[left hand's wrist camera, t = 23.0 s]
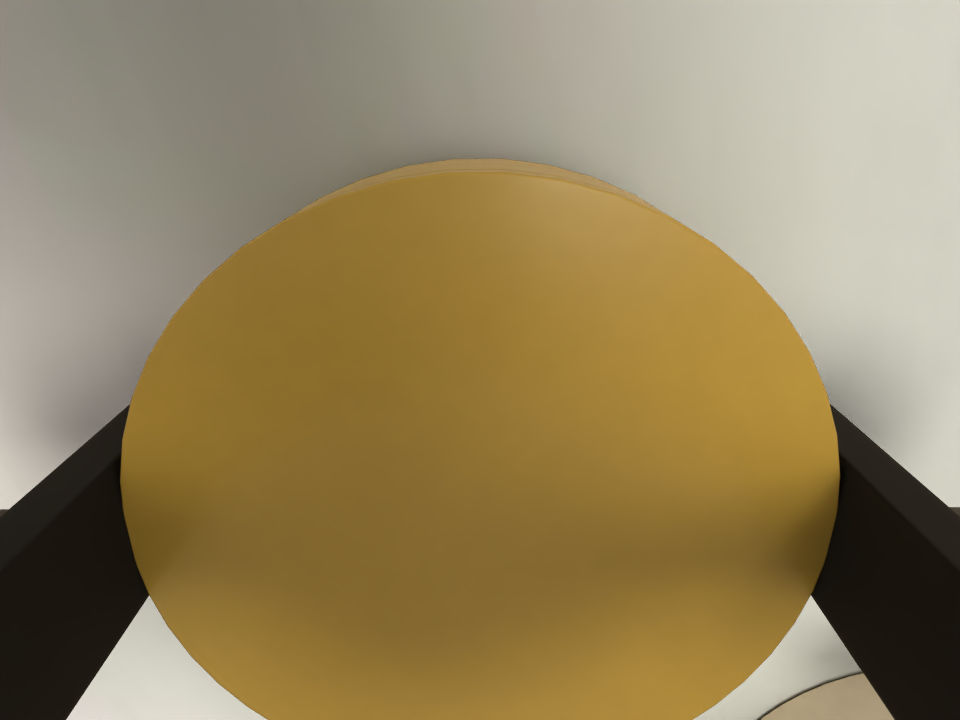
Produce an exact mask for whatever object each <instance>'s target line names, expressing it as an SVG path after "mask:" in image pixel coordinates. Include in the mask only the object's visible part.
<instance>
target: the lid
mask: <svg viewBox="0 0 960 720" xmlns="http://www.w3.org/2000/svg"><path fill="white" fill-rule="evenodd" d="M120 486H121V496H122V506H123V511H124V516H125V521H126V525H127V529H128V533H129V537H130V541H131V545H132V549H133V553H134V557H135V561H136V564H137V567H138V570H139V572H140V575H141V577H142V579H143V582H144V584H145V586H146V589H147V591H148V594H149V595H150V597H151V599H152V600H153V602H154V604H155V605H156V607H157V609H158V611H159V612H160V614H161V616H162V617H163V619H164V621H165V622H166V624H167V626H168V627H169V629H170V630H171V631H172V632H173V634H174V635H175V636H176V637H177V639H178V640H179V641H180V643H181V644H182V645H183V646H184V648H185V649H186V650H187V652H188V653H189V654H190V655H191V657H192V658H193V659H194V660H195V661H196V662H197V663H198V664H199V665H200V666H201V667H202V668H203V669H204V670H205V671H206V672H207V673H208V674H209V675H210V676H211V677H212V678H213V679H214V680H215V681H216V682H217V683H218V684H220V685H221V686H222V687H223V688H225V689H226V690H227V691H228V692H230V693H231V694H232V695H233V696H235V697H236V698H237V699H238V700H240V701H241V702H242V703H244V704H245V705H246V706H247V707H249V708H250V709H252V710H253V711H255V712H257V713H258V714H260V715H261V716H263V717H264V718H266V719H268V720H693V719H694V718H696V717H697V716H699V715H700V714H702V713H704V712H705V711H707V710H708V709H710V708H711V707H713V706H714V705H716V704H717V703H718V702H719V701H721V700H722V699H723V698H724V697H726V696H727V695H728V694H729V693H731V692H732V691H733V690H734V689H735V688H737V687H738V686H739V685H740V684H742V683H743V682H744V681H745V680H746V679H747V678H748V677H749V676H750V675H751V674H752V673H753V672H754V671H755V670H756V669H757V668H758V667H759V666H760V665H761V664H762V663H763V662H764V661H765V660H766V659H767V658H768V657H769V656H770V655H771V653H772V652H773V651H774V650H775V648H776V647H777V646H778V644H779V643H780V642H781V640H782V639H783V638H784V636H785V635H786V634H787V632H788V631H789V630H790V629H791V627H792V626H793V625H794V623H795V621H796V620H797V618H798V616H799V614H800V613H801V611H802V609H803V608H804V606H805V604H806V602H807V601H808V599H809V597H810V595H811V594H812V592H813V590H814V588H815V585H816V583H817V580H818V578H819V575H820V573H821V570H822V568H823V565H824V562H825V559H826V555H827V551H828V547H829V543H830V539H831V535H832V531H833V527H834V523H835V519H836V514H837V509H838V498H839V486H840V466H839V453H838V440H837V432H836V428H835V424H834V420H833V416H832V412H831V408H830V404H829V399H828V395H827V392H826V390H825V387H824V385H823V383H822V380H821V378H820V375H819V373H818V371H817V368H816V366H815V364H814V361H813V359H812V357H811V354H810V352H809V350H808V349H807V347H806V346H805V344H804V342H803V341H802V339H801V338H800V336H799V334H798V333H797V331H796V330H795V328H794V327H793V325H792V323H791V322H790V320H789V319H788V317H787V315H786V314H785V312H784V311H783V310H782V309H781V308H780V307H779V306H778V304H777V303H776V302H775V301H774V300H773V299H772V298H771V296H770V295H769V294H768V293H767V292H766V291H765V290H764V288H763V287H762V286H761V285H760V284H759V283H758V282H757V280H756V279H755V278H754V277H753V276H752V275H751V274H749V273H748V272H747V271H746V270H745V269H744V268H742V267H741V266H740V265H739V264H738V263H736V262H735V261H734V260H733V259H732V258H730V257H729V256H728V255H727V254H726V253H724V252H723V251H722V250H721V249H720V248H718V247H717V246H716V245H715V244H714V243H712V242H710V241H709V240H707V239H706V238H704V237H702V236H701V235H699V234H697V233H696V232H694V231H693V230H691V229H689V228H688V227H686V226H684V225H683V224H681V223H680V222H678V221H676V220H675V219H673V218H672V217H670V216H668V215H667V214H665V213H663V212H662V211H660V210H658V209H657V208H655V207H654V206H652V205H650V204H649V203H647V202H645V201H644V200H642V199H640V198H639V197H637V196H636V195H633V194H631V193H629V192H627V191H624V190H622V189H620V188H617V187H615V186H613V185H610V184H608V183H606V182H603V181H601V180H599V179H596V178H594V177H591V176H587V175H584V174H580V173H576V172H573V171H569V170H565V169H562V168H558V167H554V166H551V165H546V164H538V163H531V162H523V161H515V160H508V159H450V160H444V161H437V162H430V163H423V164H416V165H409V166H405V167H401V168H398V169H394V170H391V171H387V172H384V173H381V174H377V175H374V176H370V177H367V178H363V179H361V180H358V181H356V182H354V183H352V184H350V185H347V186H345V187H343V188H341V189H338V190H336V191H334V192H332V193H330V194H327V195H325V196H323V197H321V198H319V199H317V200H316V201H314V202H313V203H311V204H309V205H308V206H306V207H304V208H303V209H301V210H300V211H298V212H296V213H295V214H293V215H291V216H290V217H288V218H287V219H285V220H283V221H282V222H280V223H279V224H277V225H276V226H274V227H272V228H271V229H269V230H268V231H266V232H264V233H263V234H261V235H260V236H258V237H257V238H255V239H253V240H252V241H250V242H249V243H247V244H246V245H244V246H242V247H241V248H240V249H239V250H238V251H236V252H235V253H234V254H233V255H232V256H231V257H230V258H228V259H227V260H226V261H225V262H224V263H223V264H221V265H220V266H219V267H218V268H217V269H216V270H215V271H213V272H212V273H211V274H210V275H209V276H208V277H206V278H205V279H204V280H203V281H202V282H201V284H200V285H199V286H198V287H197V288H196V290H195V291H194V292H193V293H192V294H191V295H190V297H189V298H188V299H187V300H186V301H185V302H184V304H183V305H182V306H181V307H180V308H179V310H178V311H177V312H176V313H175V314H174V315H173V317H172V318H171V320H170V321H169V323H168V325H167V326H166V328H165V330H164V331H163V333H162V335H161V336H160V338H159V340H158V341H157V343H156V345H155V346H154V348H153V350H152V351H151V353H150V355H149V356H148V358H147V361H146V363H145V366H144V368H143V371H142V373H141V376H140V378H139V381H138V383H137V386H136V388H135V391H134V393H133V396H132V399H131V403H130V408H129V412H128V417H127V421H126V426H125V430H124V435H123V439H122V455H121V472H120Z"/></svg>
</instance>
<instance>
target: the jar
mask: <svg viewBox="0 0 960 720" xmlns="http://www.w3.org/2000/svg"><path fill="white" fill-rule="evenodd" d="M761 720H894V718H893V717H892V715H891V714H890V712H889V711H888V709H887V708H886V706H885V705H884V703H883V702H882V700H881V699H880V697H879V696H878V694H877V693H876V691H875V690H874V688H873V687H872V685H871V684H870V682H869V681H868V679H867V678H866V676H865V675H864V673H862V674H857V675H853V676H849V677H846V678H843V679H839V680H836V681H833V682H830V683H827V684H824V685H822V686H820V687H817V688H815V689H812V690H810V691H808V692H805V693H803V694H801V695H799V696H797V697H795V698H794V699H792V700H790V701H788V702H786V703H784V704H782V705H781V706H779V707H778V708H776V709H775V710H773V711H772V712H770V713H769V714H767V715H766V716H764V717H763V718H762V719H761Z"/></svg>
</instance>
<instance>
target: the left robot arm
mask: <svg viewBox="0 0 960 720" xmlns="http://www.w3.org/2000/svg"><path fill="white" fill-rule="evenodd" d="M129 408H130V405H129V406H128V407H126V408H125V409H124V410H123V411H122V412H121V413H120V414H118V415H117V416H116V417H115V418H114V419H113V420H111V421H110V422H109V423H108V424H107V425H106V426H105V427H103V428H102V429H101V430H100V431H99V432H98V433H96V434H95V435H94V436H93V437H92V438H91V439H90V440H88V441H87V442H86V443H85V444H84V445H83V446H82V447H80V448H79V449H78V450H77V451H76V452H75V453H73V454H72V455H71V456H70V457H69V458H68V459H67V460H65V461H64V462H63V463H62V464H61V465H60V466H59V467H57V468H56V469H55V470H54V471H53V472H52V473H50V474H49V475H48V476H47V477H46V478H45V479H44V480H42V481H41V482H40V483H39V484H38V485H37V486H35V487H34V488H33V489H32V490H31V491H30V492H29V493H27V494H26V495H25V496H24V497H23V498H22V499H21V500H19V501H18V502H17V503H16V504H15V505H14V506H12V507H11V508H10V509H1V510H0V720H66V719H67V717H68V716H69V714H70V713H71V711H72V710H73V708H74V707H75V705H76V704H77V702H78V701H79V699H80V698H81V696H82V695H83V693H84V692H85V690H86V689H87V687H88V686H89V684H90V683H91V681H92V680H93V678H94V677H95V676H96V674H97V673H98V671H99V670H100V668H101V667H102V665H103V664H104V662H105V661H106V659H107V658H108V656H109V655H110V653H111V652H112V650H113V649H114V647H115V646H116V644H117V643H118V641H119V640H120V638H121V637H122V635H123V634H124V632H125V631H126V629H127V628H128V626H129V625H130V623H131V622H132V620H133V619H134V617H135V616H136V614H137V613H138V611H139V610H140V608H141V607H142V605H143V604H144V602H145V601H146V599H147V598H148V596H149V594H148V591H147V589H146V586H145V584H144V582H143V579H142V577H141V575H140V572H139V570H138V567H137V564H136V561H135V557H134V553H133V549H132V545H131V541H130V537H129V533H128V529H127V525H126V521H125V516H124V511H123V506H122V496H121V486H120V472H121V455H122V439H123V435H124V430H125V426H126V421H127V417H128V412H129ZM830 408H831V412H832V416H833V420H834V424H835V428H836V432H837V440H838V453H839V466H840V486H839V498H838V509H837V514H836V519H835V523H834V527H833V531H832V535H831V539H830V543H829V547H828V551H827V555H826V559H825V562H824V565H823V568H822V570H821V573H820V575H819V578H818V580H817V583H816V585H815V588H814V590H813V592H812V594H811V596H812V597H813V599H814V600H815V602H816V603H817V605H818V606H819V608H820V609H821V611H822V612H823V614H824V615H825V617H826V618H827V620H828V621H829V623H830V624H831V626H832V627H833V629H834V630H835V631H836V633H837V634H838V636H839V637H840V639H841V640H842V642H843V643H844V645H845V646H846V648H847V649H848V651H849V652H850V654H851V655H852V657H853V658H854V660H855V661H856V663H857V664H858V666H859V667H860V669H861V670H862V672H863V673H864V675H865V676H866V678H867V679H868V681H869V682H870V684H871V685H872V687H873V688H874V690H875V691H876V693H877V694H878V696H879V697H880V699H881V700H882V702H883V703H884V705H885V706H886V708H887V709H888V711H889V712H890V714H891V715H892V717H893V718H894V720H960V507H948V506H947V505H946V504H945V503H943V502H942V501H941V500H940V499H939V498H938V497H936V496H935V495H934V494H933V493H932V492H931V491H930V490H928V489H927V488H926V487H925V486H924V485H923V484H922V483H920V482H919V481H918V480H917V479H916V478H915V477H913V476H912V475H911V474H910V473H909V472H908V471H907V470H905V469H904V468H903V467H902V466H901V465H900V464H898V463H897V462H896V461H895V460H894V459H893V458H892V457H890V456H889V455H888V454H887V453H886V452H885V451H884V450H882V449H881V448H880V447H879V446H878V445H877V444H875V443H874V442H873V441H872V440H871V439H870V438H869V437H867V436H866V435H865V434H864V433H863V432H862V431H861V430H859V429H858V428H857V427H856V426H855V425H854V424H852V423H851V422H850V421H849V420H848V419H847V418H846V417H844V416H843V415H842V414H841V413H840V412H839V411H837V410H836V409H835V408H834V407H833V406H832V405H831V404H830Z"/></svg>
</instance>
